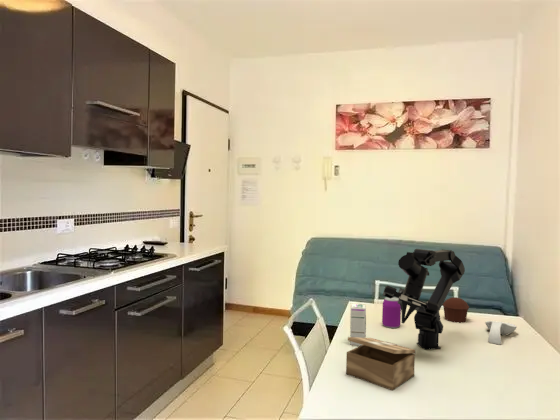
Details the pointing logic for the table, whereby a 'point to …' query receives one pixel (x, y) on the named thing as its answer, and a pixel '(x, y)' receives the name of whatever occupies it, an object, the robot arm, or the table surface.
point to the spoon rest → (498, 330)
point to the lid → (381, 345)
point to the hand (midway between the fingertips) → (402, 323)
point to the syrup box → (357, 322)
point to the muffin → (455, 310)
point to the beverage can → (391, 313)
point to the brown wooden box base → (380, 366)
